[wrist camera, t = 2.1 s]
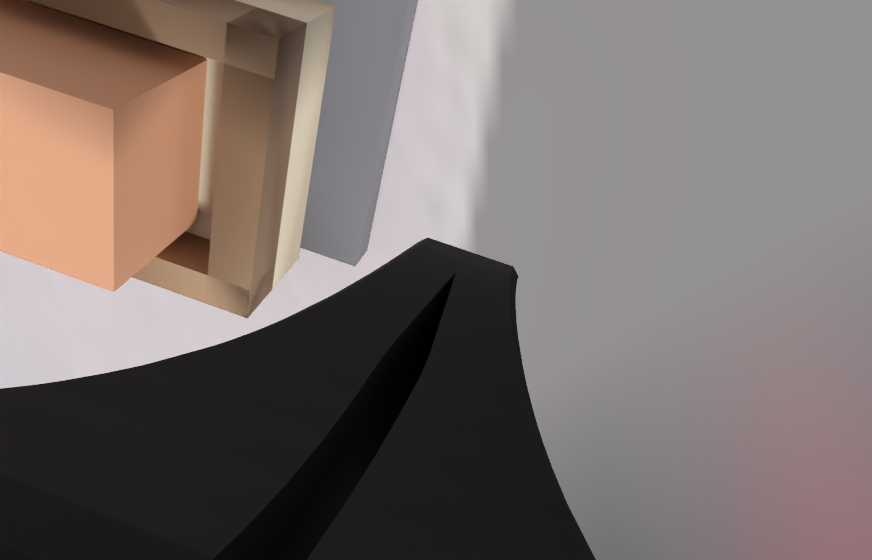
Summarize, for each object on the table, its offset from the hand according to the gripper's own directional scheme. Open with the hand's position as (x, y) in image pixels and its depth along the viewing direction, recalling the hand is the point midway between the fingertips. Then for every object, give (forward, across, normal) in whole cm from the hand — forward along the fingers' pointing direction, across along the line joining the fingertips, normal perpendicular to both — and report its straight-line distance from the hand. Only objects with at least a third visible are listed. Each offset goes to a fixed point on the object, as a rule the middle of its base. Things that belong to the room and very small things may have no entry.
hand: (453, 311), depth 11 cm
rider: (+2, +7, 0) cm, 7 cm away
